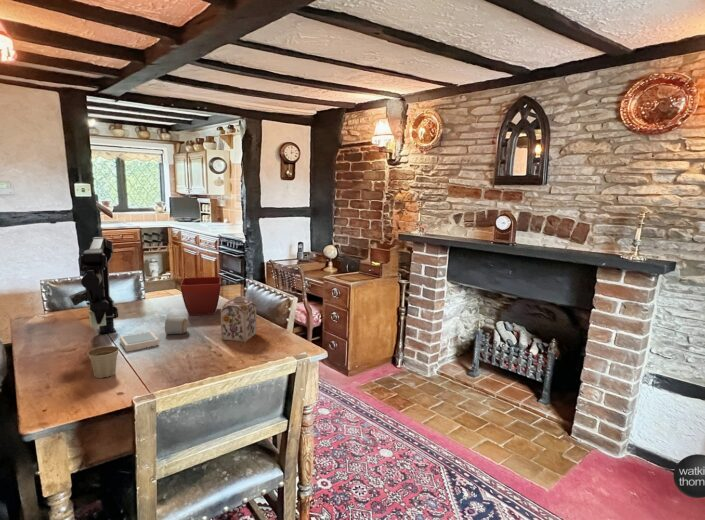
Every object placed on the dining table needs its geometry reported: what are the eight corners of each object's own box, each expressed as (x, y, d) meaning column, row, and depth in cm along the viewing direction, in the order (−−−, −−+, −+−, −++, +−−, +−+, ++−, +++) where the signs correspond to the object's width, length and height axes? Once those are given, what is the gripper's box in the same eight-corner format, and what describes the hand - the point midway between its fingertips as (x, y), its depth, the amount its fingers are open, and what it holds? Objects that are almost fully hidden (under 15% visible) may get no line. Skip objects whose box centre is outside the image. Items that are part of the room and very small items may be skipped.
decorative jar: (245, 342, 176) (245, 301, 173) (220, 340, 178) (219, 299, 175) (257, 333, 187) (257, 295, 184) (233, 331, 190) (233, 293, 187)
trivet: (120, 342, 172) (119, 336, 171) (151, 336, 179) (150, 330, 179) (126, 351, 163) (125, 345, 162) (158, 345, 170) (158, 338, 170)
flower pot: (97, 368, 147) (96, 345, 145) (125, 368, 148) (124, 345, 146) (83, 380, 138) (81, 356, 136) (112, 380, 138) (111, 355, 137)
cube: (89, 324, 164) (88, 311, 163) (104, 321, 167) (103, 309, 166) (91, 327, 160) (90, 315, 159) (106, 325, 163) (105, 313, 162)
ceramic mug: (184, 336, 182) (183, 319, 181) (164, 336, 180) (163, 319, 179) (190, 328, 192) (189, 312, 191) (171, 328, 191) (171, 312, 190)
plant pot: (184, 307, 224) (183, 277, 221) (221, 306, 230) (220, 276, 227) (181, 318, 206) (179, 285, 203) (221, 316, 212) (220, 283, 209)
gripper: (68, 281, 163) (71, 319, 165) (72, 290, 148) (75, 332, 151) (100, 278, 170) (103, 314, 172) (108, 287, 155) (110, 327, 158)
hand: (98, 322), depth 163 cm, fingers closed on cube, 5 cm apart
